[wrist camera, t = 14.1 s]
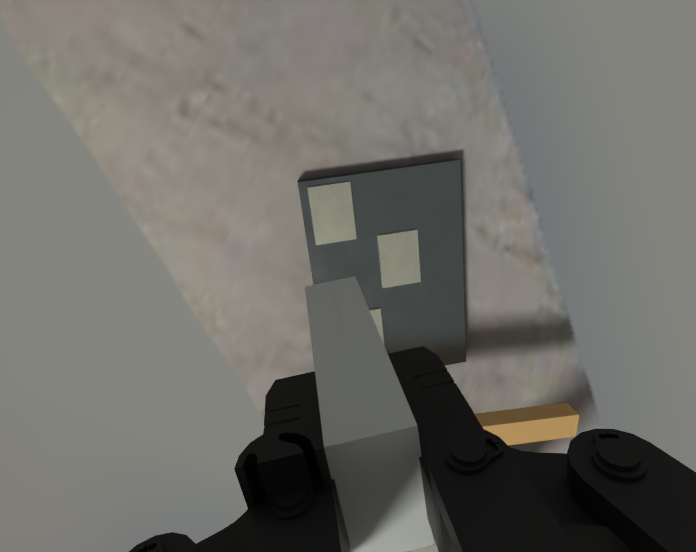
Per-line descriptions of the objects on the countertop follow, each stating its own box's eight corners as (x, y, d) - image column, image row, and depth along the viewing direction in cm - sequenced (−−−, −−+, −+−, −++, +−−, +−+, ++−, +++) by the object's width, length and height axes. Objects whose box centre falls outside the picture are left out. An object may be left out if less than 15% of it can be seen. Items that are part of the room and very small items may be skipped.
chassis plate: (297, 180, 38) (298, 182, 37) (456, 158, 39) (461, 159, 38) (328, 381, 45) (329, 387, 44) (462, 356, 46) (466, 362, 45)
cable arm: (317, 460, 40) (319, 479, 38) (315, 424, 38) (317, 441, 36) (561, 429, 43) (575, 445, 41) (567, 394, 41) (582, 408, 39)
